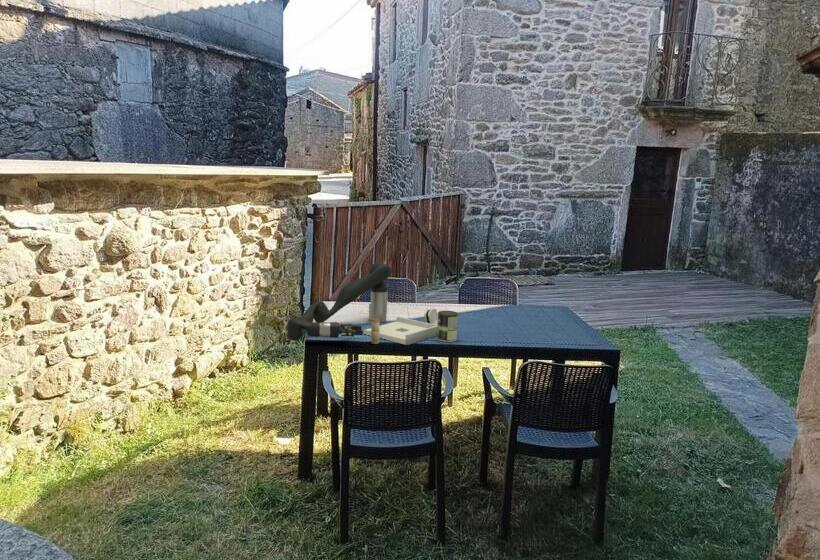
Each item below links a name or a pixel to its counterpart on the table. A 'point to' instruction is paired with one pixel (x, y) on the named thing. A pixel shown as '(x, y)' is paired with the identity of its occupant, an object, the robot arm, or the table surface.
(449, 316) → the coffee can
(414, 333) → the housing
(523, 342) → the table surface
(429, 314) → the hinge
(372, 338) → the gear shaft
